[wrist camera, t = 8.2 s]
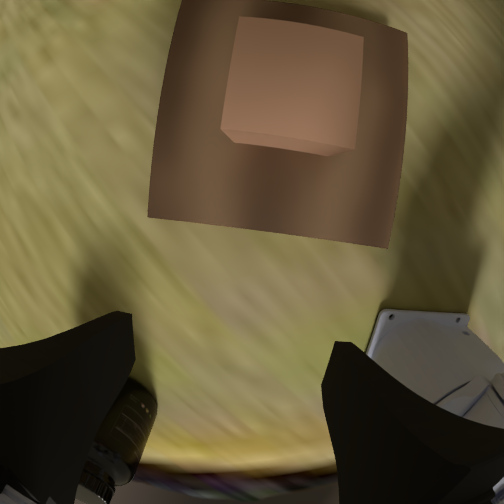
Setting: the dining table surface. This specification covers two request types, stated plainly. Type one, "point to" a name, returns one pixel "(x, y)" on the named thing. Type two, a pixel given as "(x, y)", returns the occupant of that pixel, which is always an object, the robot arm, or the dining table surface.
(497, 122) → the dining table surface
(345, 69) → the terracotta cube
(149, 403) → the supplement bottle
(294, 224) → the walnut base
